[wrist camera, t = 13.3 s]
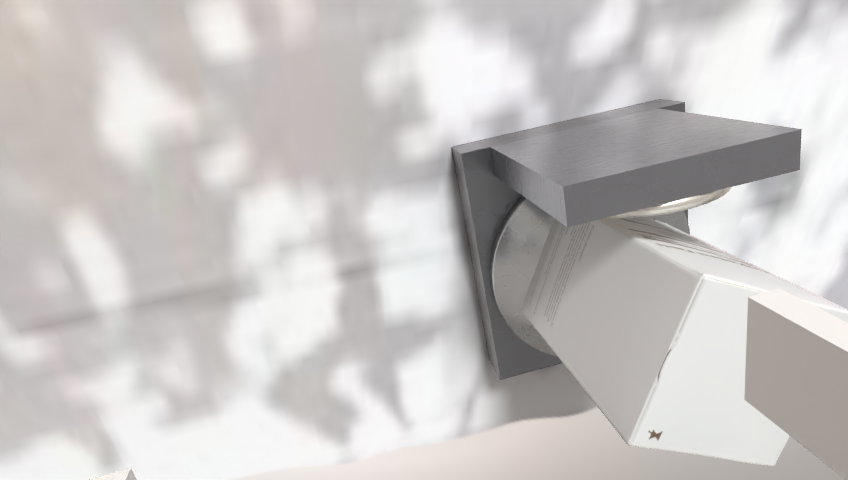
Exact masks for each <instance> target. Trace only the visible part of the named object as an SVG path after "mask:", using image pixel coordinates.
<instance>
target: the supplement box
mask: <svg viewBox="0 0 848 480" xmlns="http://www.w3.org/2000/svg"><path fill="white" fill-rule="evenodd" d="M776 289H781V290H783V291H785V292H787V293H789V294H791V295H793V296H795V297H797V298H799V299H801V300H803V301H805V302H807V303H809V304H811V305H813V306H815V307H817V308H819V309H821V310H823V311H825V312H827V313H829V314H831V315H833V316H835V317H838V318H840V319H842V320H844V321H846V322H848V310H847V309H845V308H843V307H841V306H839V305H837V304H835V303H833V302H831V301H829V300H827V299H825V298H822V297H820V296H818V295H816V294H814V293H812V292H810V291H808V290H806V289H804V288H801V287H799V286H797V285H795V284H793V283H791V282H789V281H786V280H784V279H782V278H780V277H778V276H776V275H774V274H771V273H769V272H767V271H765V270H763V269H761V268H759V267H757V266H755V265H752V264H750V263H748V262H746V261H744V260H742V259H740V258H737V257H735V256H733V255H731V254H729V253H727V252H725V251H723V250H721V249H718V248H716V247H714V246H712V245H710V244H708V243H706V242H704V241H702V240H700V239H697V238H695V237H693V236H691V235H689V234H687V233H685V232H683V231H681V230H679V229H677V228H674V227H672V226H670V225H668V224H667V223H663V222H660V221H656V220H652V219H648V218H644V217H637V218H619V219H599V220H595V221H591V222H587V223H583V224H579V225H575V226H571V227H566V226H565V225H563V224H562V223H561V222H559V221H558V220H556V219H555V218H554V220H553V223H552V226H551V228H550V231H549V234H548V237H547V240H546V242H545V245H544V248H543V251H542V254H541V256H540V259H539V262H538V265H537V267H536V270H535V273H534V276H533V279H532V281H531V284H530V287H529V290H528V293H527V295H526V298H525V301H524V304H523V307H522V312H523V313H524V315H525V316H526V317H527V318H528V320H529V321H530V322H531V323H532V325H533V326H534V327H535V329H536V330H537V331H538V332H539V334H540V335H541V336H542V337H543V338H544V340H545V341H546V342H547V344H548V345H549V346H550V347H551V349H552V350H553V351H554V352H555V354H556V355H557V356H558V357H559V359H560V360H561V361H562V362H563V364H564V365H565V366H566V368H567V369H568V370H569V371H570V373H571V374H572V375H573V376H574V378H575V379H576V380H577V381H578V383H579V384H580V385H581V386H582V388H583V389H584V390H585V391H586V393H587V394H588V395H589V396H590V398H591V399H592V400H593V401H594V403H595V404H596V405H597V407H598V408H599V409H600V410H601V412H602V413H603V414H604V415H605V416H606V418H607V419H608V421H609V422H610V423H611V424H612V426H613V427H614V428H615V429H616V430H617V432H618V433H619V434H620V436H621V437H622V438H623V440H624V441H625V442H626V443H627V444H628V445H629V446H635V447H643V448H651V449H660V450H668V451H675V452H682V453H689V454H696V455H703V456H710V457H716V458H722V459H727V460H734V461H740V462H745V463H752V464H761V465H770V466H774V465H775V463H776V461H777V459H778V457H779V455H780V453H781V451H782V450H783V448H784V446H785V444H786V442H787V440H788V438H789V437H790V435H788V434H787V433H786V432H785V431H783V430H782V429H781V428H779V427H778V426H777V425H776V424H774V423H773V422H772V421H771V420H769V419H768V418H767V417H766V416H764V415H763V414H762V413H761V412H759V411H758V410H757V409H756V408H754V407H753V406H752V405H750V404H749V403H748V402H747V401H745V400H744V395H745V368H746V342H747V315H748V297H750V296H754V295H758V294H761V293H765V292H768V291H772V290H776Z"/></svg>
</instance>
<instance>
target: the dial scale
mask: <svg viewBox="0 0 848 480" xmlns="http://www.w3.org/2000/svg"><path fill="white" fill-rule="evenodd" d="M800 149H801V129H795V128H789V127H782V126H775V125H768V124H761V123H754V122H747V121H741V120H734V119H727V118H720V117H713V116H706V115H699V114H692V113H686V112H685V102H679V101H670V100H661V99H659V100H654V101H650V102H646V103H641V104H637V105H633V106H628V107H624V108H619V109H615V110H611V111H606V112H602V113H598V114H593V115H589V116H585V117H580V118H576V119H571V120H567V121H563V122H558V123H554V124H550V125H545V126H541V127H536V128H532V129H528V130H523V131H519V132H515V133H510V134H506V135H502V136H497V137H493V138H488V139H484V140H480V141H475V142H471V143H467V144H462V145H458V146H453V147H452V152H453V157H454V163H455V168H456V174H457V179H458V185H459V191H460V196H461V202H462V207H463V213H464V218H465V224H466V230H467V235H468V241H469V246H470V252H471V258H472V263H473V269H474V274H475V280H476V285H477V291H478V297H479V302H480V308H481V313H482V319H483V324H484V330H485V336H486V341H487V347H488V352H489V358H490V361H491V363H492V365H493V367H494V368H495V370H496V372H497V374H498V376H499V378H500V380H501V379H505V378H508V377H512V376H516V375H519V374H523V373H527V372H530V371H534V370H538V369H542V368H545V367H549V366H553V365H556V364H560V363H563V362H562V361H561V360H560V359H559V357H558V356H557V355H556V354H555V352H554V351H553V350H552V349H551V347H550V346H549V345H548V344H547V342H546V341H545V340H544V338H543V337H542V336H541V335H540V334H539V332H538V331H537V330H536V329H535V327H534V326H533V325H532V323H531V322H530V321H529V320H528V318H527V317H526V316H525V315H524V313H523V312H522V307H523V304H524V301H525V298H526V295H527V293H528V290H529V287H530V284H531V281H532V279H533V276H534V273H535V270H536V267H537V265H538V262H539V259H540V256H541V254H542V251H543V248H544V245H545V242H546V240H547V237H548V234H549V231H550V228H551V226H552V223H553V220H554V218H555V219H556V220H558V221H559V222H561V223H562V224H563V225H565V226H566V227H571V226H575V225H579V224H583V223H587V222H591V221H595V220H599V219H619V218H637V217H644V218H648V219H652V220H656V221H660V222H663V223H667V224H668V225H670V226H672V227H674V228H677V229H679V230H681V231H683V232H685V233H687V234H689V235H690V232H689V226H688V209H691V208H695V207H698V206H701V205H704V204H707V203H709V202H711V201H714V200H716V199H718V198H720V197H721V196H723V195H725V194H726V193H727V192H728V191H729V190H730V189H731V187H733V186H737V185H741V184H745V183H749V182H753V181H757V180H761V179H765V178H769V177H773V176H777V175H781V174H785V173H789V172H793V171H797V170H800Z"/></svg>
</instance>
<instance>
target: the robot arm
mask: <svg viewBox="0 0 848 480" xmlns="http://www.w3.org/2000/svg"><path fill="white" fill-rule="evenodd" d="M744 400H745V401H747V402H748V403H749V404H750V405H752V406H753V407H754V408H756V409H757V410H758V411H759V412H761V413H762V414H763V415H764V416H766V417H767V418H768V419H769V420H771V421H772V422H773V423H774V424H776V425H777V426H778V427H779V428H781V429H782V430H783V431H785V432H786V433H787V434H788V435H790V436H791V437H792V438H794V439H795V440H796V441H797V442H798V443H800V444H801V445H802V446H803V447H805V448H806V449H807V450H808V451H810V452H811V453H812V454H814V455H815V456H816V457H817V458H819V459H820V460H821V461H822V462H824V463H825V464H826V465H828V466H829V467H830V468H831V469H832V470H834V471H835V472H836V473H837V474H839V475H840V476H841V477H843V478H844V479H845V480H848V322H846V321H844V320H842V319H840V318H838V317H835V316H833V315H831V314H829V313H827V312H825V311H823V310H821V309H819V308H817V307H815V306H813V305H811V304H809V303H807V302H805V301H803V300H801V299H799V298H797V297H795V296H793V295H791V294H789V293H787V292H785V291H783V290H781V289H776V290H772V291H768V292H765V293H761V294H758V295H754V296H750V297H748V315H747V342H746V368H745V395H744ZM89 480H136V478H135V476H134V473H133V471H132V469H131V468H129V469H125V470H121V471H118V472H114V473H110V474H107V475H103V476H100V477H96V478H92V479H89Z"/></svg>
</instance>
